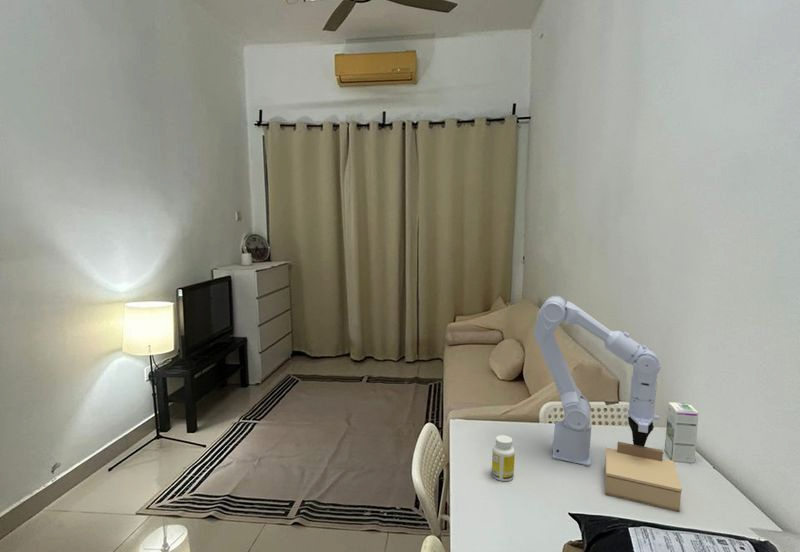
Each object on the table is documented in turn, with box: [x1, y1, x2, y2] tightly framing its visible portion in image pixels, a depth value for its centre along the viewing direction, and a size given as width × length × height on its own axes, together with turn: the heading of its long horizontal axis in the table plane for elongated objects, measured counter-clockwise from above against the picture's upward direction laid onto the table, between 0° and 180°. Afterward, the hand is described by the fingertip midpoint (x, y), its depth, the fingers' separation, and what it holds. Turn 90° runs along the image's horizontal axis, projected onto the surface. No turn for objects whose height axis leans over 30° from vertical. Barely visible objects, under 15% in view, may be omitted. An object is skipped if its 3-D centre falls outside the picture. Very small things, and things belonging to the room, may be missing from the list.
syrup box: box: [664, 401, 700, 464], centre depth 123 cm, size 6×6×14 cm
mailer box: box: [604, 459, 682, 513], centre depth 109 cm, size 15×13×4 cm
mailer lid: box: [605, 441, 683, 493], centre depth 108 cm, size 15×13×3 cm
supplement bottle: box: [491, 434, 516, 482], centre depth 113 cm, size 5×5×10 cm
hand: (638, 447), depth 117 cm, fingers closed
